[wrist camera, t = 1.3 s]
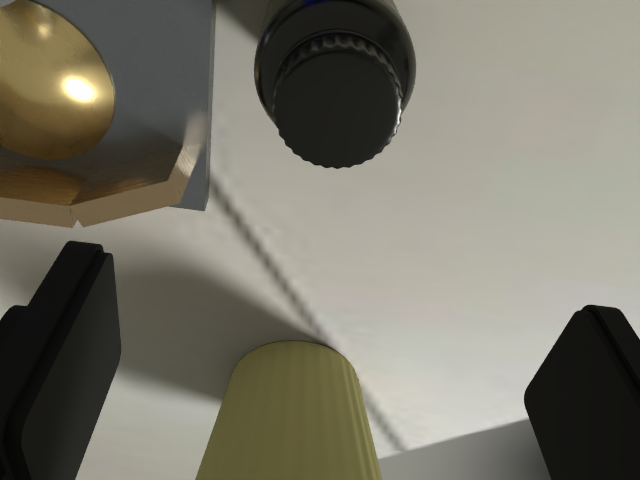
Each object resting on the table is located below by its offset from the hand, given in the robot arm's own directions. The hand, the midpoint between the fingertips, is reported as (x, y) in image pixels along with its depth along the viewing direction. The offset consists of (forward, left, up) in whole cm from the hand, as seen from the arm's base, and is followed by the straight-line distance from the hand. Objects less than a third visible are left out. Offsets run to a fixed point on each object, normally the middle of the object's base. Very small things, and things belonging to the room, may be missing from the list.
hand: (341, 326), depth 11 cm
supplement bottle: (0, 0, -23) cm, 23 cm away
